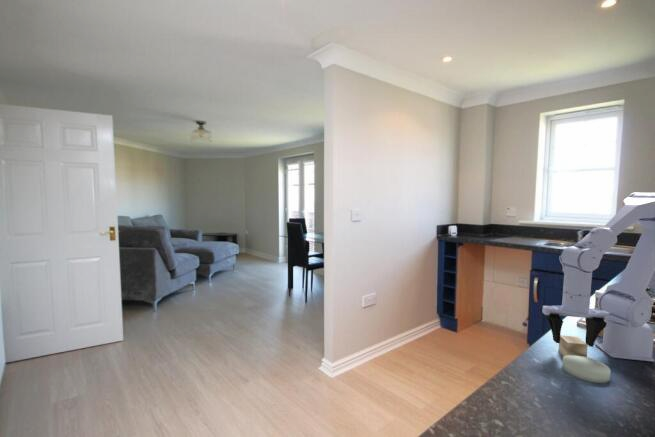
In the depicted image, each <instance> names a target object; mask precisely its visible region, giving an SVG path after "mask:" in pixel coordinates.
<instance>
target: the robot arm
mask: <svg viewBox="0 0 655 437" xmlns="http://www.w3.org/2000/svg"><path fill="white" fill-rule="evenodd" d="M635 223H637V225H639V226H641V228H642V229H643V231H642V232H641V234H640V237H639V240H637V243H636V245H635V247H634V249H633V251H632V254H631V257H630V258H629V260H628V262H627V265H626V267H625V269H624V271H623V274H622V276H621V277H620V279H619V282H615V283H612V284H610V285H607V286H606V288H605V289H604V291H605V292H604V293H603V294H601V295H600V297H599V299H598V303H597V304H598V308H599V310H595V308H590V307H591V306H590V304H591V292H592V279H593V271H595V270H597V269H598V268H599V266H600V263H601V260H602V259H603V257H604V256H603V255H604V254H605V253H606V254H607V252H608V251H609V250H611V248H612V247H614V245H616V244H617V243H618V237H617V236H619V235H620V234H621V233H623V232H624V231H626V230H627V229H628V228H629V227H631V226H632V225H634V224H635ZM558 259H559V262H560V264H561V265H562V270H561V271H562V272H563V286H562V299H561V300H562V302H561V305H542V314H544V315H545V318H546V319H547V321H548V324H549V326H550V330H551V333H552V339H553V341H554V343H556V344H559V343H560V335H561V333H562V326H563V324H564V320H563V319H562V318H561V316H563V317H572V318H585V328H586V329H585V343H586V344H588V347H592V348H593V347H594V346H596V347H598V348H599V349H600V350H602V352H604V353H605V354H606V355H608V356H609V357H611V358H615V359H624V360H634V361H644V362H645V361H646V362H651V363H652V362H654V361H655V360H654V358H653V350H654V336H655V335H654V331H653V329H652V327H651V326H650V325H649V324H648V322H649V321H650V320H651V317H652V309H653V305H654V303H655V302H654V300H653V298H652V297H651V296H650V294H648V292H647V291H646V290H647V288H648V286H649V283H650V282H651V280H652V278H653V276H654V273H655V192H640V191H639V192H638V191H636V192H632V193H630V194H629V195H628V196H627V197H626V198H625V199H624V200H623V202H622V207H621V209H620V210H619V211H617V212H616V213H615V214H614V215H613V217H612V218H611V219H610V220H609V221H607V223H606V224H605V225H604V226H603V227H601V226H598V227H594V228H592V229H590V230H589V232H588V234H586V235H585V236H584V237H583V238H582V239H581V240H579V241H578V242H577V243H575V245H574V246H567V247H566V248H564V249H563V250H562V251H561V253H560V255H559V257H558ZM603 329H604V333H603V337H602V342H596V340H597V339H598V337H599V336H598V335H599V333H600V332H601V331H602V330H603Z"/></svg>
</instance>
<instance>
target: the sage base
mask: <svg viewBox="0 0 655 437" xmlns="http://www.w3.org/2000/svg"><path fill="white" fill-rule="evenodd" d="M561 364H562V366H561V368H562V369H563V371H564V372H566V373H567V374H569V375H570V376H572V377H575V378H577V379H579V380H583V381H586V382H589V383H595V384H605V383H608V382H610V380H611V369H610V367H609V366H608V365H606V364H604V363H603V362H600V361H599V360H596V359H594V358H591V357H588V356H587V357H584V356H578V355H566V356H563V357H562V363H561Z"/></svg>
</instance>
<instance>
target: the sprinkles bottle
mask: <svg viewBox="0 0 655 437" xmlns="http://www.w3.org/2000/svg"><path fill="white" fill-rule="evenodd" d="M604 292H605V289H604V290H601V289H599V290H595V292H594V293H595V294H594V298H595V299H594V300H595V303H594V304H595V305H594V309H595V310H599V308H598V304H597V303H598V299H599V297H600V295H601V294H603V293H604ZM603 333H604V329H603V330H602V331H601V332H600V333H599V335H598V336H597V337H601V338H603Z"/></svg>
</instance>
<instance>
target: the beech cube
mask: <svg viewBox="0 0 655 437" xmlns="http://www.w3.org/2000/svg"><path fill="white" fill-rule="evenodd" d="M588 347H589V345H588V344H586V341H584V340H583V339H582V338H580V337H579V336H571V335H562V334H560V343H558V352H559V353H560V354H561V355H562V356H563V357H564V356H566V355H578V356H584V357H588Z"/></svg>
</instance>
